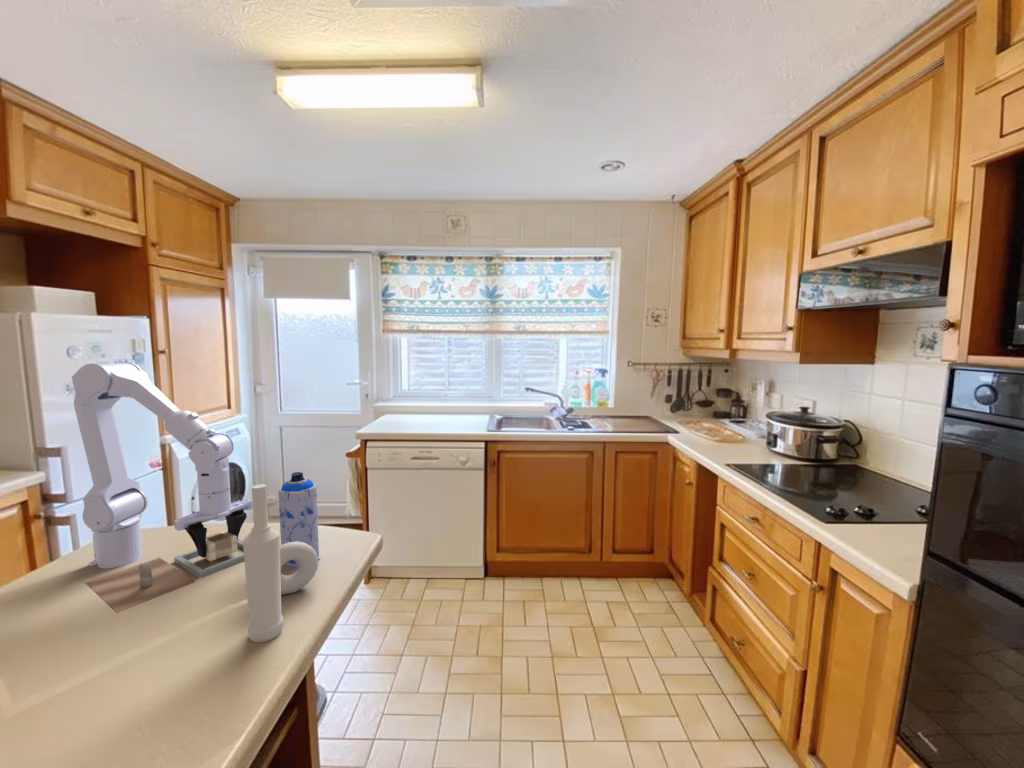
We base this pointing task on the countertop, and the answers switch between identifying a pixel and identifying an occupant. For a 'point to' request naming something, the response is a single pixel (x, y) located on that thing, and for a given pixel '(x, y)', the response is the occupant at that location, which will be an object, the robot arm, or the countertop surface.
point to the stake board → (139, 584)
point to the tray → (203, 572)
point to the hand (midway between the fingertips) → (217, 550)
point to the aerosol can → (299, 513)
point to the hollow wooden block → (220, 545)
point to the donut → (306, 567)
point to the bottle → (263, 572)
